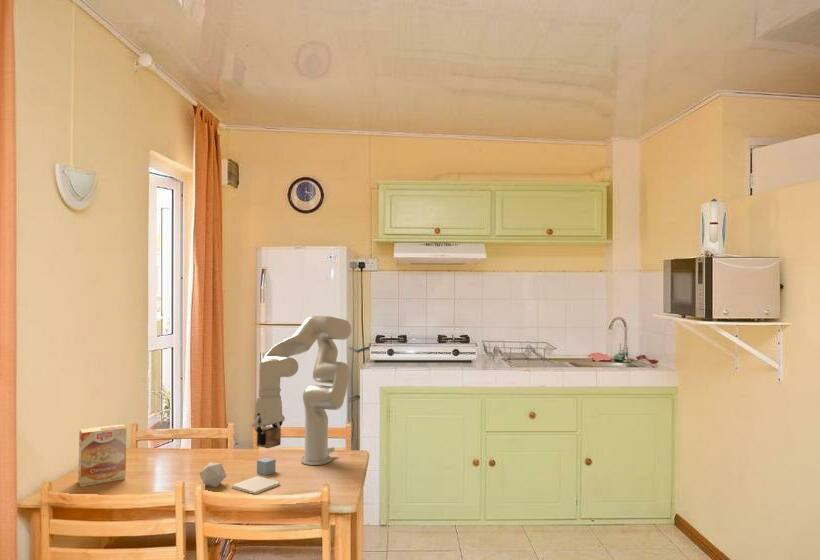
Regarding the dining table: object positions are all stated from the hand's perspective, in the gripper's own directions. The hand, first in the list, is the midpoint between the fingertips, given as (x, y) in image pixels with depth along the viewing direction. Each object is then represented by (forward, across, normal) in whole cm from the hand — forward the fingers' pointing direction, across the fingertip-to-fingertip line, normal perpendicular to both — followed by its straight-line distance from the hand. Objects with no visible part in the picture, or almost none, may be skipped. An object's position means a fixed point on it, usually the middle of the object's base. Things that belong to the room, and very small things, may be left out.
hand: (268, 442), depth 205 cm
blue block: (+16, -11, -12) cm, 23 cm away
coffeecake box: (+16, +29, -56) cm, 65 cm away
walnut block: (+1, 0, 0) cm, 1 cm away
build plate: (+16, +2, -3) cm, 16 cm away
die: (+16, +10, -18) cm, 26 cm away
